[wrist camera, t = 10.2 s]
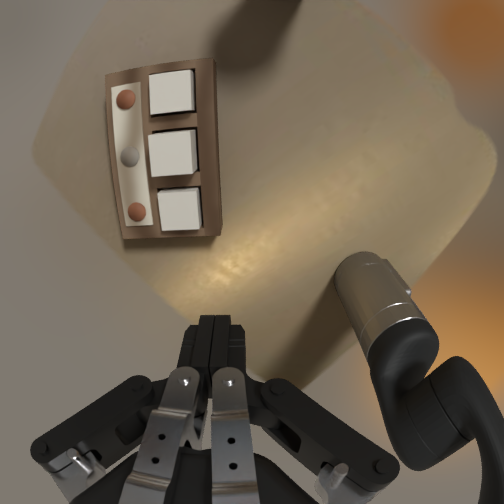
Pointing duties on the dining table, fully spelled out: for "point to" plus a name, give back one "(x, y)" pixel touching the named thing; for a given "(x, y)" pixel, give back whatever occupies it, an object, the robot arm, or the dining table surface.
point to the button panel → (137, 148)
